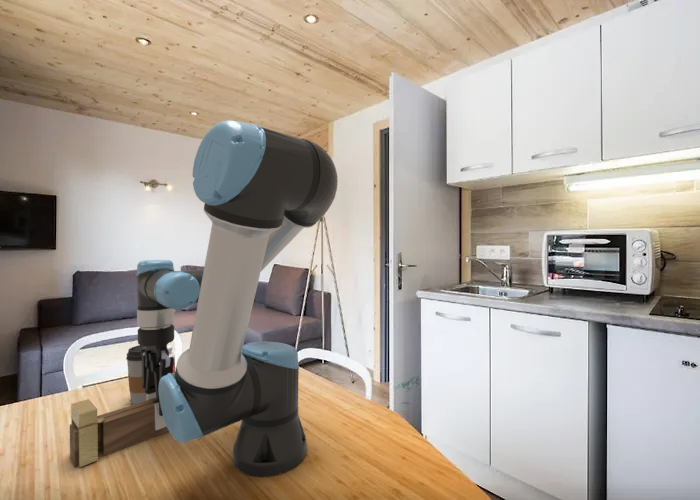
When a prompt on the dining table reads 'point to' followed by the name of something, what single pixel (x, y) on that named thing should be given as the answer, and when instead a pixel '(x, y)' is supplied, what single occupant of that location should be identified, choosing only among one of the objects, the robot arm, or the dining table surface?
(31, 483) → the dining table surface
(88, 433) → the lock collar
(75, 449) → the base
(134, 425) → the tong arm
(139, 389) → the coffee cup
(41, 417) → the dining table surface
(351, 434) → the dining table surface
